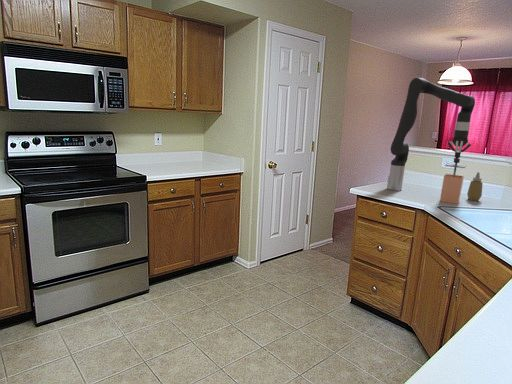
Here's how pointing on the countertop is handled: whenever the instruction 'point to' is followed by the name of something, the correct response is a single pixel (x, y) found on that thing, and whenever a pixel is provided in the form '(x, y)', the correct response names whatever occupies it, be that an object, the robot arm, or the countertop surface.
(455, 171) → the drawer with knob
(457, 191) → the open tunnel frame
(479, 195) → the squeeze bottle
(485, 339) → the countertop surface
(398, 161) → the robot arm
